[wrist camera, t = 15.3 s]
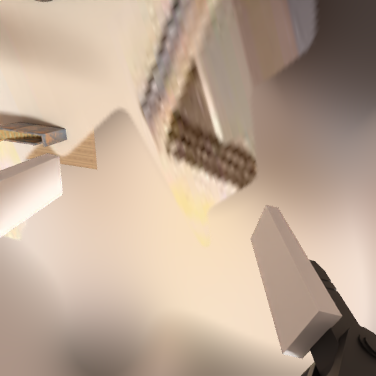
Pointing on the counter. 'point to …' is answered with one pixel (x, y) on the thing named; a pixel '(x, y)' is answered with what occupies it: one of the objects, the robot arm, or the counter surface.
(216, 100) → the counter surface
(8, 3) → the counter surface
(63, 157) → the ruin model on sheet
